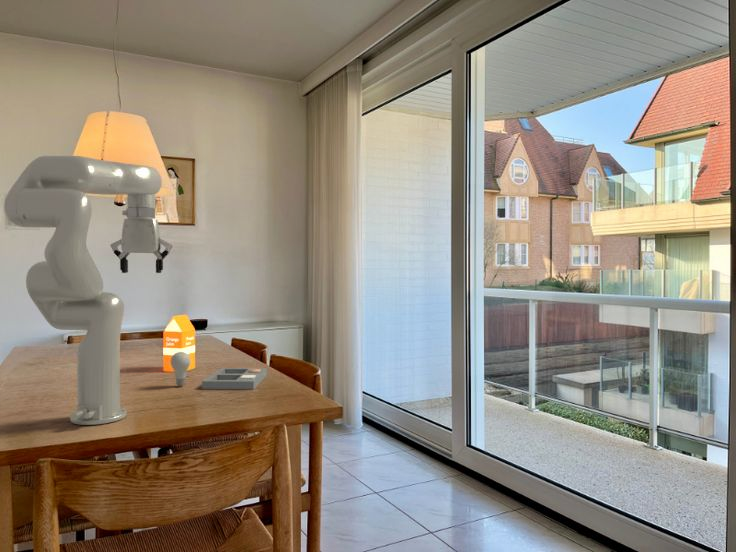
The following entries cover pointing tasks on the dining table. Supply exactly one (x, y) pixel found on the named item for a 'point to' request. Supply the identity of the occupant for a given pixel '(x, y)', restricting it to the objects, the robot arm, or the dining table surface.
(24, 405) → the dining table surface
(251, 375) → the socket board
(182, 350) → the orange juice
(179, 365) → the lightbulb
